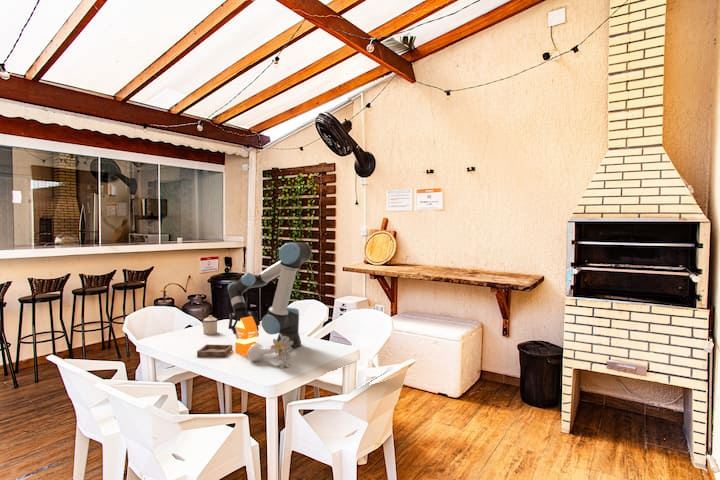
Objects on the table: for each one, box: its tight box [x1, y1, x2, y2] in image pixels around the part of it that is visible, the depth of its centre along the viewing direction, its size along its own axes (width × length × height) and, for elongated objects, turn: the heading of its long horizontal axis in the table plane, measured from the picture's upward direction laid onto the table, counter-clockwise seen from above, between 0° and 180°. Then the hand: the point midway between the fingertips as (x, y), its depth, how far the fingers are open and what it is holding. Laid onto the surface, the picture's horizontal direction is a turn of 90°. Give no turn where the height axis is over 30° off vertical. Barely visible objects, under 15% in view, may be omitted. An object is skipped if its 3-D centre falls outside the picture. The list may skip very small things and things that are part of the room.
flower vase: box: [247, 333, 295, 369], centre depth 218 cm, size 13×18×25 cm
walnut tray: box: [196, 343, 233, 358], centre depth 233 cm, size 15×14×3 cm
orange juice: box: [234, 315, 257, 356], centre depth 237 cm, size 8×9×20 cm
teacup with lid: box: [202, 314, 218, 335], centre depth 280 cm, size 12×9×12 cm
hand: (247, 337), depth 235 cm, fingers open, 11 cm apart
